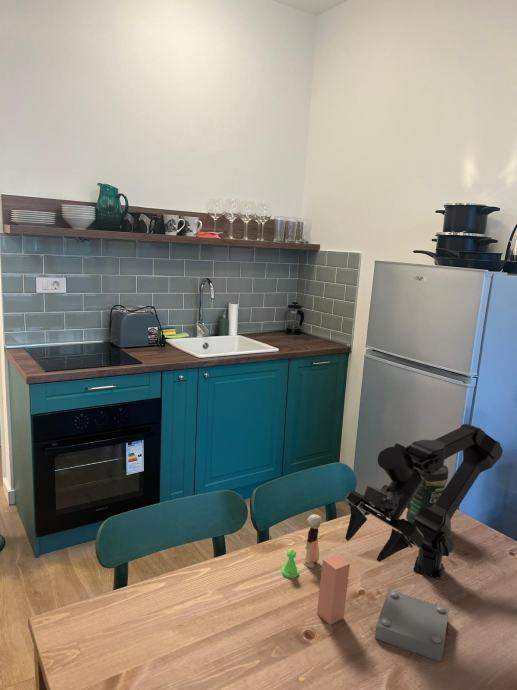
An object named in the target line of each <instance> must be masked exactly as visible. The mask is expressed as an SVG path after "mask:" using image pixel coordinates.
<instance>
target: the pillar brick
mask: <svg viewBox="0 0 517 690" xmlns="http://www.w3.org/2000/svg"><path fill="white" fill-rule="evenodd" d="M350 565H351V563H350V562H348V560H346V559H344V558H343V557H342V556H340V555H339V554H337V553H336V554H333V555H330V556H328V557H325V558H323V559H322V563H321V574H320V581H319V592H318V602H317V611H316V614H317V616H319V617H320V618H321V619H322V620H323V621H324V622H326V623H327V624H328V625H330V626H331V625H333V624H335V623H337V622H338V621H341V620H343V619H344V616H345V610H346V609H345V608H346V600H347V593H348V583H349V574H350Z"/></svg>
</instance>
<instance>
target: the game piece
mask: <svg viewBox="0 0 517 690" xmlns="http://www.w3.org/2000/svg"><path fill="white" fill-rule="evenodd" d="M286 557H287V558H288V559H287V560H286V562H285V564H284V565H283V566H281V568H280V569H281V575H283V576H284V577H286V578H290V579H294V578H296V577H297V576H299V574H300V572H299V567H297V565H296V562H295V559H297V558H296V557H297V551H295V550H294V549H289V550H287V552H286Z"/></svg>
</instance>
